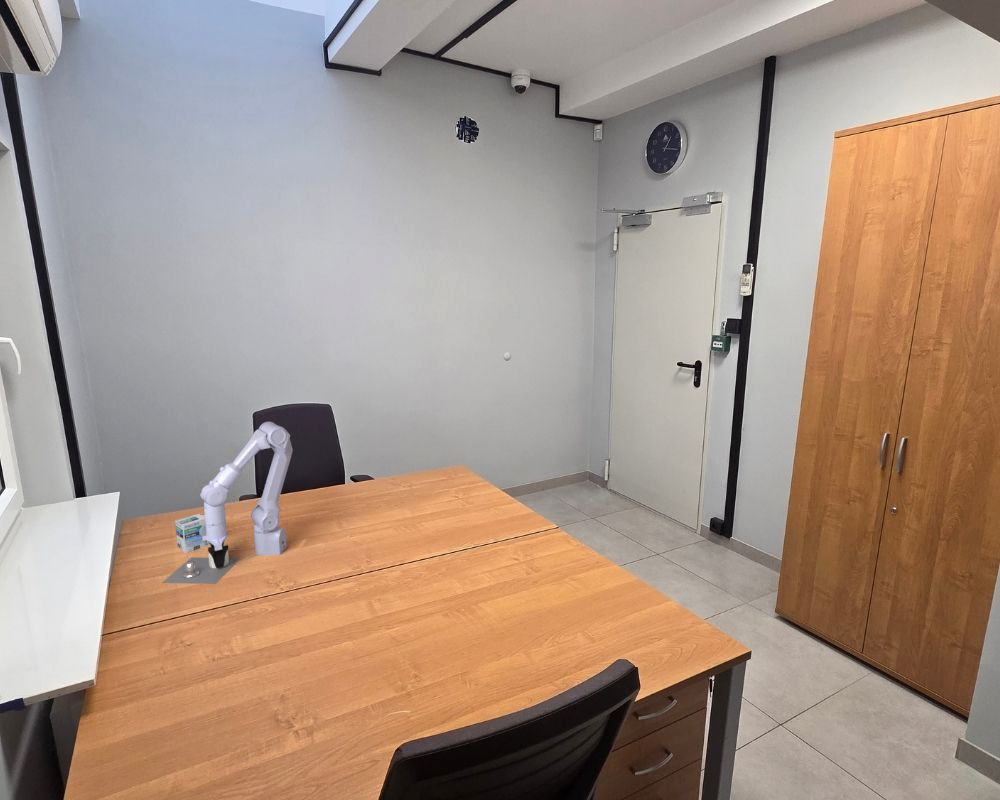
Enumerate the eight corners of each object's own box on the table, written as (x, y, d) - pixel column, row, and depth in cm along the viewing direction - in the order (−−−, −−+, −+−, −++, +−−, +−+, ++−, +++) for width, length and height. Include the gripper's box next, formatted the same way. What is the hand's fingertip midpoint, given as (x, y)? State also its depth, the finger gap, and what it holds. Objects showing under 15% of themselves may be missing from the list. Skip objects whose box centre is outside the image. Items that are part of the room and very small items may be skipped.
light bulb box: (185, 556, 182) (182, 525, 180) (176, 550, 186) (173, 520, 184) (218, 545, 190) (216, 515, 188) (209, 539, 194) (206, 510, 192)
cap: (231, 560, 178) (230, 547, 177) (223, 568, 172) (222, 554, 172) (215, 559, 178) (214, 546, 177) (206, 567, 172) (205, 554, 172)
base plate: (241, 561, 179) (240, 558, 179) (215, 586, 163) (215, 583, 163) (191, 560, 179) (191, 557, 179) (161, 585, 163) (161, 582, 163)
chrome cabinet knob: (202, 571, 170) (201, 559, 170) (194, 578, 166) (193, 566, 165) (188, 571, 170) (186, 559, 170) (179, 578, 166) (178, 565, 165)
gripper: (200, 516, 177) (203, 555, 179) (201, 533, 164) (205, 575, 167) (224, 512, 180) (228, 550, 183) (228, 528, 168) (231, 569, 170)
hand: (219, 562), depth 175 cm, fingers open, 7 cm apart
